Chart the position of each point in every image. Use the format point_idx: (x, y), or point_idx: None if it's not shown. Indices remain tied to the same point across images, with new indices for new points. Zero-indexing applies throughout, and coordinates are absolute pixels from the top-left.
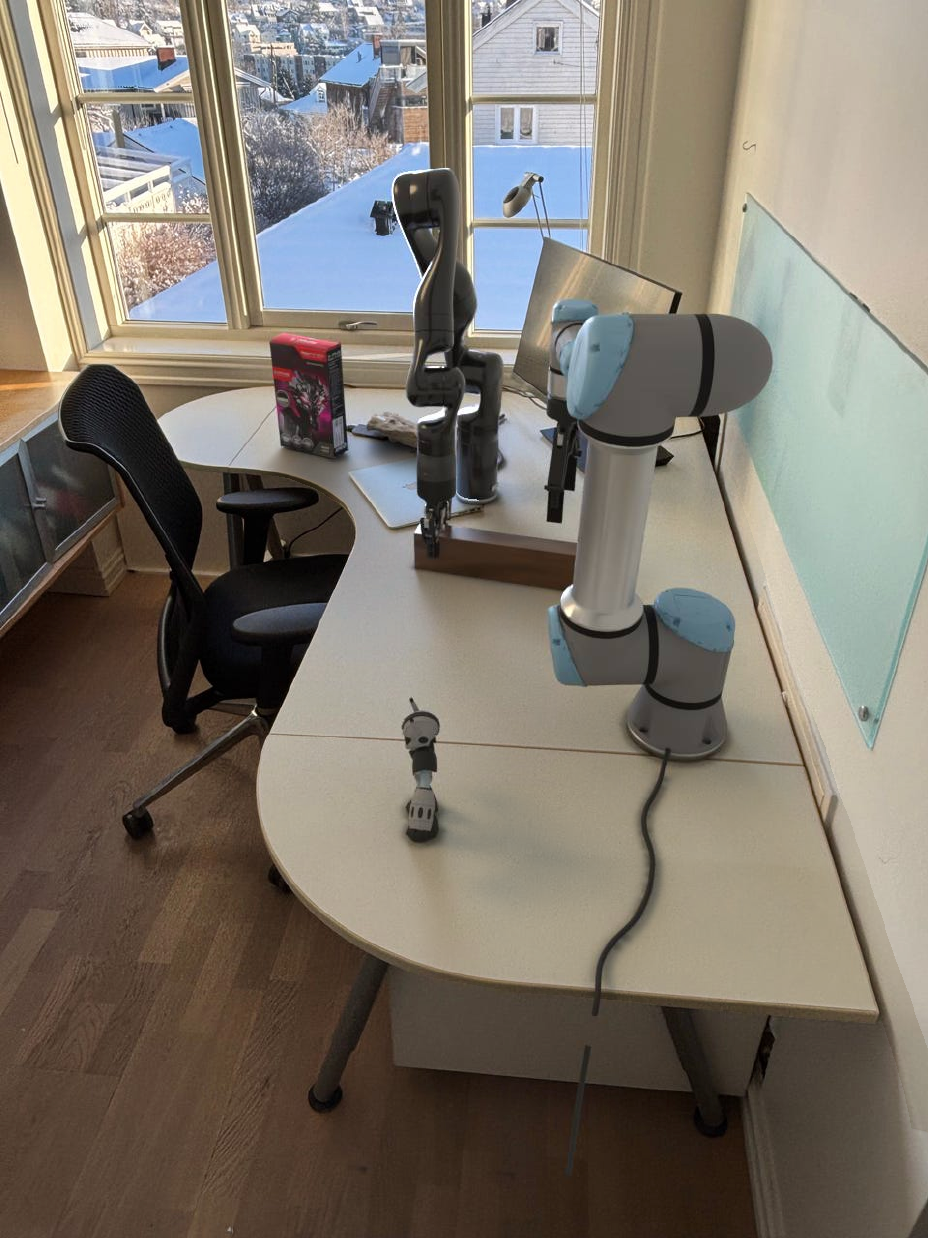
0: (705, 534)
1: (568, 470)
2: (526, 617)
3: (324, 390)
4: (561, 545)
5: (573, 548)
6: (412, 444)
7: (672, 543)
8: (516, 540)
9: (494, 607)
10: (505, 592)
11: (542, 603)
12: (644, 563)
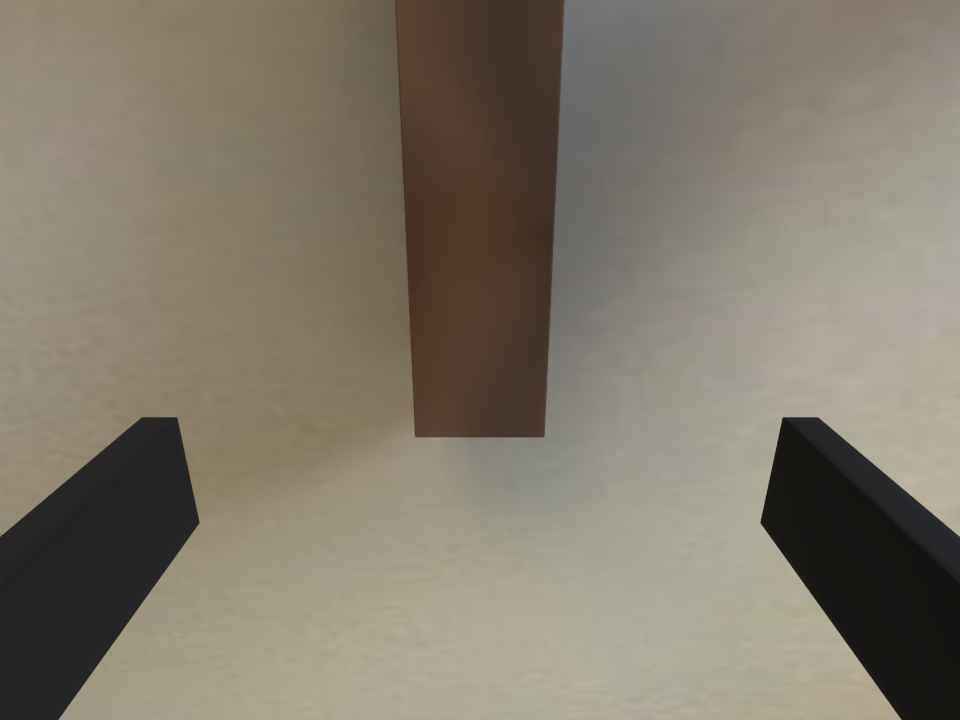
0: None
1: (893, 614)
2: (193, 226)
3: None
4: (496, 354)
5: (483, 412)
6: None
7: None
8: (485, 93)
9: (205, 74)
10: (338, 94)
11: (313, 266)
12: (687, 549)
